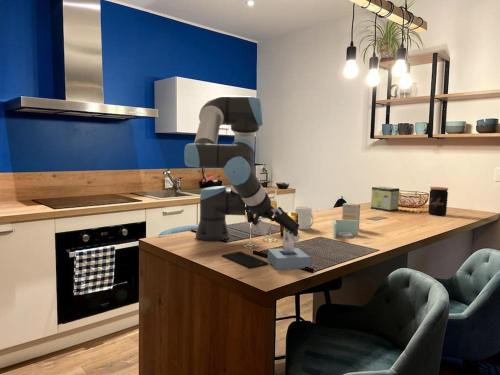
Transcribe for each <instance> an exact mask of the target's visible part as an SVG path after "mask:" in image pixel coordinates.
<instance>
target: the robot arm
mask: <svg viewBox="0 0 500 375" xmlns="http://www.w3.org/2000/svg"><path fill="white" fill-rule="evenodd" d="M262 115H263V113H262V103H261V99H260V97H257V96H250V95H219V96H217V97H213V98H211V99H210V100H208V101H207V102H205V103H204V105H203V106H202V107H201V108H200V111H199V114H198V119H199V124H198V128H197V131H196V135H195V138H194V142H193V143H187V144H185V147H184V151H183V152H184V154H183V157H184V164H185V166H186V167H189V168H196V169H198V168H206V169H207V168H210V169H211V168H216V169H217V168H219V169H223V172H224V173H223V174H224V175H225V177H226V180H227V181H228V182H229V183H230V184H231V185H230V189H227V186H225V185H220V186H219V185H216V186H209V187H204V188H203V189H201V190H200V196H199V202H200V203H199V222H198V226H197V228H196V232H195V238H196V239H198V240H201V241H205V242H206V241H207V242H217V241H219V242H220V241H224V239H225V240H227V239H229V238H230V231H229V228H228V225H227V222H226V217H227V216H245V210H246V212H247V216H246V219H247V222H248V223H249V224H251V223H252V225H254V226H255V227H256V229H257V230H258V231H259V232H260V234H261V235H262V237H266V235H267V234H268V232H269V229H268V228H267V227H266V225H265V223H264V222H263V220H262V219H260V217H261V218H263V219H268V220H270V221H271V222H275V223H277V224H278V225H280V226H281V227H282V228H284V229H287V230H289V231H288V233H289V234H290V236H291V237H292V239H293V241H294V244H298V242H299V241H300V238H301V236H300V234H299V231H298V230H299V229H298V227H299V224H298V223H297V222H296V221H295V219H293V218H292V217H291V216H290V215H289V214H287V213H286V212H285V211H284V210H283V208H282V207H281V206H278V207H277V208H275V207H273V206H272V200H271V198H270V197H269V194H268V193H267V192H266V190H265V188H264V186H263V185H262V184H261V182H260V181H259V179H258V177H257V176H256V173H255V150H256V149H255V148H256V146H255V145H256V143H255V142H256V133H258V132H259V131H260V130H259V129H260V127H262V126H263V116H262ZM221 126H230V130H231V131H232V132H233V134H234V141H233V142H232V144H230V143H229V144H228V143H227V144H225V143H224V144H223V143H221V144H220V143H219V144H218V139H219V134H220V128H221ZM245 204H246V207H245ZM254 214H255V215H254ZM254 216H255V217H254Z"/></svg>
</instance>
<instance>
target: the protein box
mask: <svg viewBox="0 0 500 375" xmlns="http://www.w3.org/2000/svg"><path fill="white" fill-rule="evenodd" d="M399 202H400V188H398V187H397V188H395V187H386V186H372V187H371V197H370V209H371V210H375V209H376V210H377V211H381V210H382V211H383V212H387V213H392V212H398V211H399V204H400V203H399ZM376 210H375V211H376ZM397 210H398V211H397Z"/></svg>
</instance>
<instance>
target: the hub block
mask: <svg viewBox="0 0 500 375" xmlns="http://www.w3.org/2000/svg"><path fill="white" fill-rule="evenodd" d="M282 254H283V247H282V248H268V249H267V261H268V263H269V264H271V265H272V267H274V269H276V270H295V269H296V270H297V269H306V268H305V267H309V268H310V265H311V256H309V255H308V254H307V253H305V252H304V251H303V250H302V249H300V248H299V247H294V255H282Z"/></svg>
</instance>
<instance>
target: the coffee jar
mask: <svg viewBox="0 0 500 375" xmlns="http://www.w3.org/2000/svg"><path fill="white" fill-rule="evenodd" d="M429 189H430V191H429V197H428V198H429V199H428V215H430V216H434V215H435V216H436V217H445V216H446V215H447V208H448V207H447V206H448V198H449V192H448V190H449V188H448V187H443V186H430V187H429ZM435 216H434V217H435Z"/></svg>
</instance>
